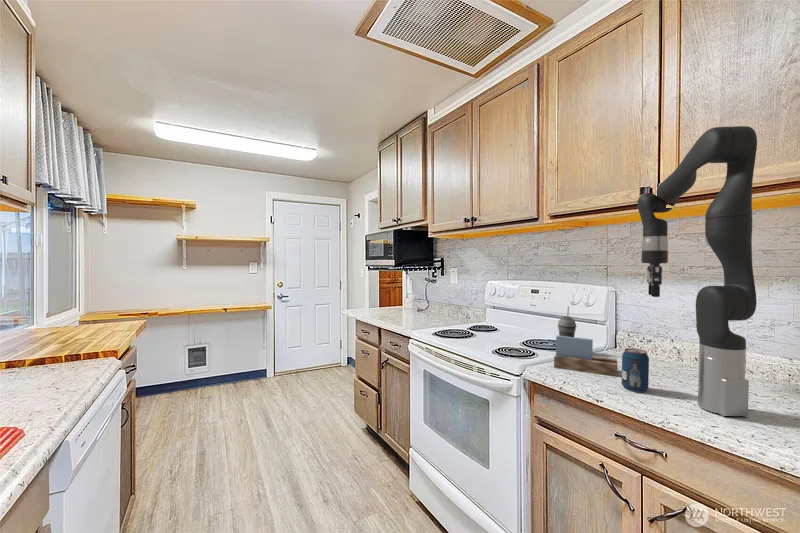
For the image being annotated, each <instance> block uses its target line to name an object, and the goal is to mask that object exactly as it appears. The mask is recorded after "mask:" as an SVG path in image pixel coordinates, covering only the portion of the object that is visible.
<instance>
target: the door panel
mask: <svg viewBox="0 0 800 533" xmlns="http://www.w3.org/2000/svg"><path fill="white" fill-rule="evenodd" d="M555 338H556V339H555V341H556V342H555V355H557V356H565V357H572V358H580V359H587V360H592V356H593V349H594V348H593V346H594V344H593V343H594V342H593V341H594V340H593V339H592V338H583V337H575V336H574V337H566V336H559V335H556V337H555Z"/></svg>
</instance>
